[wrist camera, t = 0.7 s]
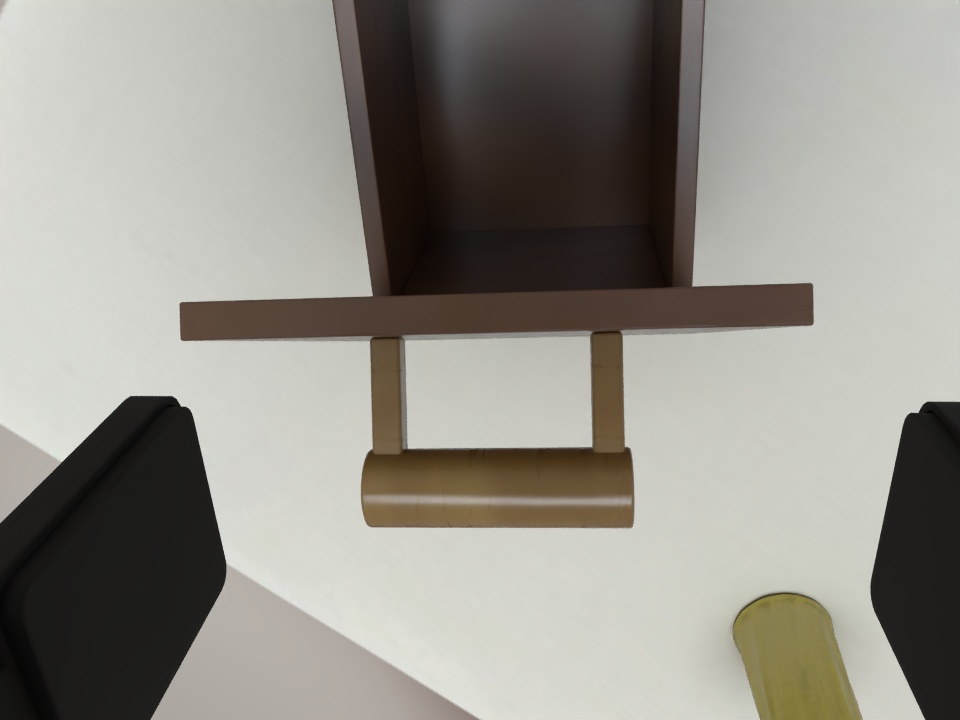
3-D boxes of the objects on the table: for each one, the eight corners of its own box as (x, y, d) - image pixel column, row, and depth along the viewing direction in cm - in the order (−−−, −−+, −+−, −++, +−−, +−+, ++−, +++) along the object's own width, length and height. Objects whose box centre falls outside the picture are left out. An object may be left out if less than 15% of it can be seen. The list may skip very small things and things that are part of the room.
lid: (178, 302, 17) (185, 552, 17) (813, 282, 15) (817, 557, 16) (374, 321, 33) (377, 449, 33) (692, 312, 32) (694, 447, 32)
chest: (383, -94, 36) (316, -110, 27) (672, -119, 35) (712, -147, 25) (419, 243, 43) (376, 326, 34) (663, 234, 42) (691, 318, 32)
